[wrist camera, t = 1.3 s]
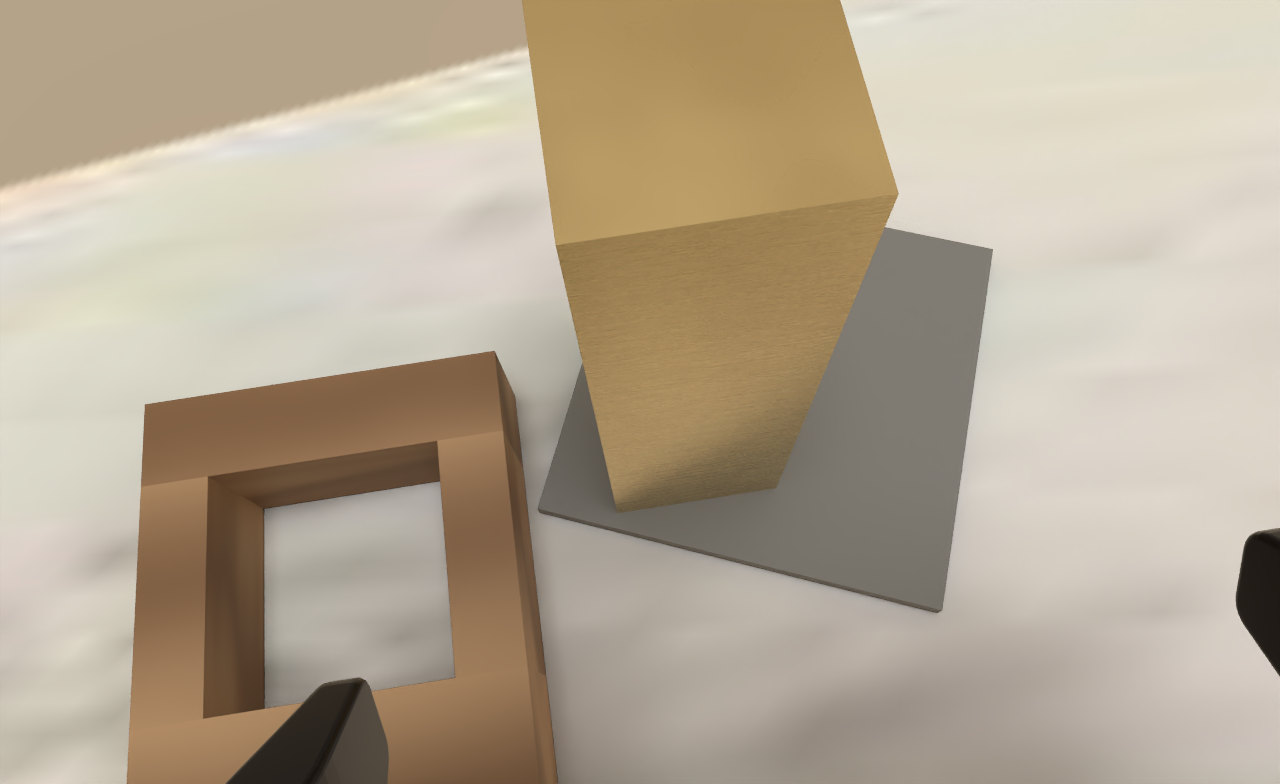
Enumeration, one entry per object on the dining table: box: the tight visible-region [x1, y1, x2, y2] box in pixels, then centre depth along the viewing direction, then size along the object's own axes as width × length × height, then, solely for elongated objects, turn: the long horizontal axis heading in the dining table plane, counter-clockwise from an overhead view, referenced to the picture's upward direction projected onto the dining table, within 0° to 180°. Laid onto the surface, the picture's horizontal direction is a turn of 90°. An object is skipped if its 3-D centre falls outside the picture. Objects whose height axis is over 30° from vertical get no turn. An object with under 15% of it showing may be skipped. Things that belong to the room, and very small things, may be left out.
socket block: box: [127, 351, 558, 784], centre depth 20 cm, size 14×8×3 cm, turn 9°
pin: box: [522, 0, 899, 513], centre depth 17 cm, size 4×4×13 cm
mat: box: [538, 227, 993, 613], centre depth 24 cm, size 10×10×1 cm
